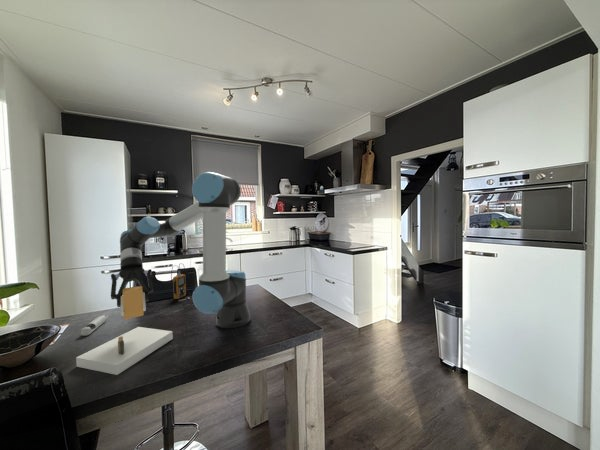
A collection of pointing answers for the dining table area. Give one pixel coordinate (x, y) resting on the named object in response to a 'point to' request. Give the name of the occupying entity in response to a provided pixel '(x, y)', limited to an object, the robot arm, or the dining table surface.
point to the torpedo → (93, 325)
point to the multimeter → (179, 285)
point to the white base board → (124, 350)
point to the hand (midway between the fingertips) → (133, 311)
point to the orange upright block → (133, 302)
